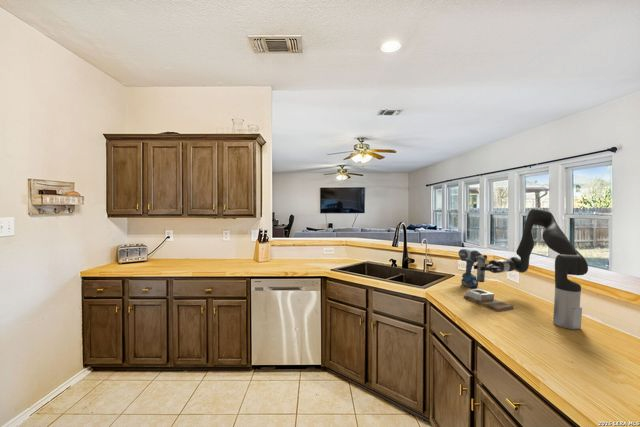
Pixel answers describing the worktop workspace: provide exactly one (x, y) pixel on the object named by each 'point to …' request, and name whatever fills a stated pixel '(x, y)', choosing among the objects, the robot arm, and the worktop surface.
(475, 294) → the stand
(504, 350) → the worktop surface
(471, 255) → the impact wrench
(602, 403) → the worktop surface
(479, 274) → the chuck key
